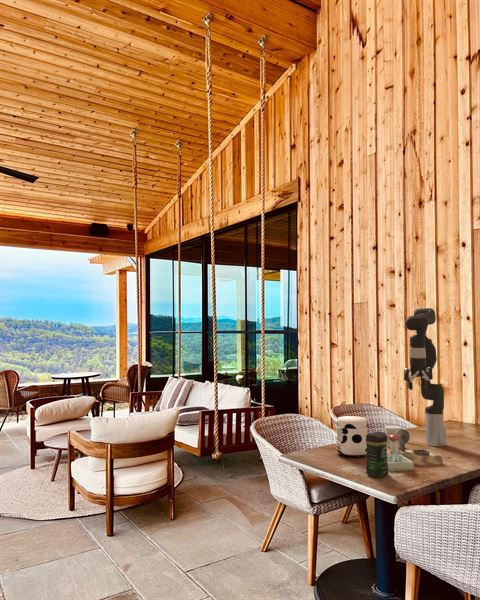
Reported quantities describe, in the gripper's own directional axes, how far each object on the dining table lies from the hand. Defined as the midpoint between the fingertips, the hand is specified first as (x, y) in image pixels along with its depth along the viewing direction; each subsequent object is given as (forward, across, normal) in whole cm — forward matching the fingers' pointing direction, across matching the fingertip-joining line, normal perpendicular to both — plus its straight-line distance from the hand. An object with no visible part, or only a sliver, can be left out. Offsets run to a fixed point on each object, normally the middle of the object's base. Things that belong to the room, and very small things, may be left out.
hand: (418, 388), depth 227 cm
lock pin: (+32, +20, +11) cm, 39 cm away
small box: (+36, +2, -23) cm, 43 cm away
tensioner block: (+34, +5, +6) cm, 34 cm away
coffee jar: (+32, +34, +21) cm, 51 cm away
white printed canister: (+34, +30, -13) cm, 47 cm away
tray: (+33, +20, +11) cm, 40 cm away
